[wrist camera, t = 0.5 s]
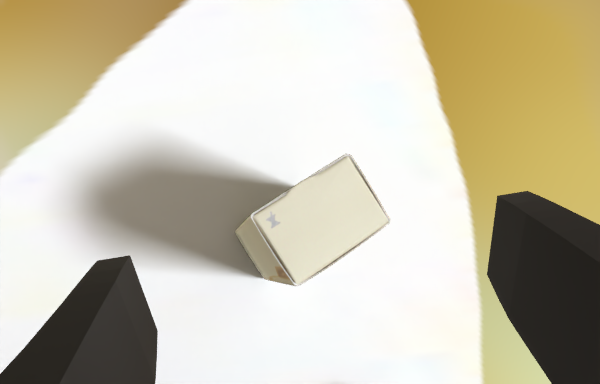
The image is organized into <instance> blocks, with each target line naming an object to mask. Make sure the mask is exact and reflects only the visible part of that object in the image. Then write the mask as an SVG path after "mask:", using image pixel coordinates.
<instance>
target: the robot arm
mask: <svg viewBox="0 0 600 384" xmlns="http://www.w3.org/2000/svg"><path fill="white" fill-rule="evenodd" d="M487 275H488V277H489V279H490V282H491V284H492V286H493V288H494V290H495V292H496V294H497V296H498V299H499V301H500V303H501V304H502V306H503V308H504V310H505V312H506V314H507V316H508V318H509V320H510V321H511V323H512V324H513V326H514V327H515V329H516V331H517V332H518V334H519V335H520V336H521V338H522V340H523V341H524V343H525V344H526V346H527V347H528V349H529V350H530V352H531V353H532V355H533V356H534V358H535V359H536V361H537V362H538V364H539V365H540V366H541V368H542V370H543V371H544V373H545V374H546V376H547V377H548V379H549V380H550V381H551V383H552V384H600V225H599V224H596V223H594V222H592V221H590V220H588V219H586V218H584V217H582V216H580V215H578V214H576V213H574V212H572V211H570V210H568V209H566V208H564V207H562V206H560V205H558V204H556V203H553V202H551V201H549V200H547V199H545V198H543V197H540V196H538V195H536V194H533V193H531V192H528V191H525V192H519V193H512V194H506V195H500V196H497V203H496V211H495V218H494V226H493V234H492V241H491V249H490V257H489V264H488V272H487ZM156 360H157V328H156V326H155V323H154V320H153V317H152V315H151V312H150V309H149V306H148V304H147V301H146V298H145V296H144V293H143V290H142V287H141V285H140V282H139V279H138V276H137V274H136V271H135V268H134V266H133V263H132V260H131V257H130V256H124V257H118V258H111V259H105V260H99V261H97V262H96V263H95V264H94V265H93V266H92V267H91V269H90V270H89V271H88V272H87V273H86V275H85V276H84V277H83V278H82V279H81V281H80V282H79V283H78V284H77V286H76V287H75V288H74V289H73V290H72V292H71V293H70V294H69V295H68V297H67V298H66V299H65V300H64V301H63V303H62V304H61V305H60V306H59V308H58V309H57V310H56V311H55V312H54V314H53V315H52V316H51V317H50V318H49V319H48V321H47V322H46V323H45V324H44V325H43V327H42V328H41V329H40V330H39V331H38V332H37V334H36V335H35V336H34V337H33V338H32V340H31V341H30V342H29V343H28V344H27V345H26V347H25V348H24V349H23V350H22V351H21V352H20V353H19V354H18V355H17V356H16V358H15V359H14V360H13V361H12V362H11V363H10V364H9V365H8V366H7V367H6V368H5V369H4V371H3V372H2V373H1V374H0V384H155V378H156Z"/></svg>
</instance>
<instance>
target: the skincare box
mask: <svg viewBox="0 0 600 384" xmlns="http://www.w3.org/2000/svg"><path fill="white" fill-rule="evenodd" d="M389 223H390V218H389V216H388V215H387V213H386V212H385V210H384V208H383V206H382V204H381V203H380V201H379V199H378V198H377V196H376V194H375V192H374V191H373V189H372V187H371V186H370V184H369V183H368V181H367V179H366V178H365V176H364V174H363V173H362V171H361V169H360V168H359V166H358V165H357V163H356V162H355V160H354V158H353V157H352V156H351V155H350V154H345V155H343V156H342V157H340V158H338V159H337V160H335V161H333V162H332V163H330V164H329V165H327V166H325V167H324V168H322V169H320V170H319V171H317V172H316V173H314V174H312V175H311V176H309V177H308V178H306V179H305V180H303V181H301V182H300V183H298V184H297V185H295V186H294V187H292V188H291V189H289V190H287V191H286V192H284V193H283V194H281V195H280V196H278V197H276V198H275V199H273V200H272V201H270V202H269V203H267V204H266V205H264V206H263V207H261V208H259V209H258V210H256V211H255V212H253V213H252V214H250V216H248V218H247V219H246V220H245V221H244V222H243V223H242V224H241V225H240V226H239V227H238V228H237V229H236V230H235V233H236V235H237V237H238V239H239V240H240V242H241V244H242V245H243V247H244V249H245V250H246V252H247V254H248V255H249V257H250V258H251V260H252V262H253V263H254V265H255V266H256V268H257V269H258V271H259V272H260V273H261V275H262V276H263V278H264V279H266V280H270V281H275V282H279V283H284V284H288V285H293V286H299V285H301V284H303V283H304V282H306V281H308V280H309V279H311V278H313V277H314V276H316V275H317V274H319V273H321V272H322V271H324V270H325V269H327V268H328V267H330V266H331V265H333V264H334V263H336V262H337V261H338V260H340V259H341V258H343V257H344V256H346V255H347V254H348V253H350V252H351V251H353V250H354V249H355V248H357V247H358V246H360V245H361V244H362V243H364V242H365V241H366V240H368V239H369V238H370V237H372V236H373V235H374V234H376V233H377V232H378V231H380V230H381V229H382V228H384V227H385V226H386V225H388V224H389Z"/></svg>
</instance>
